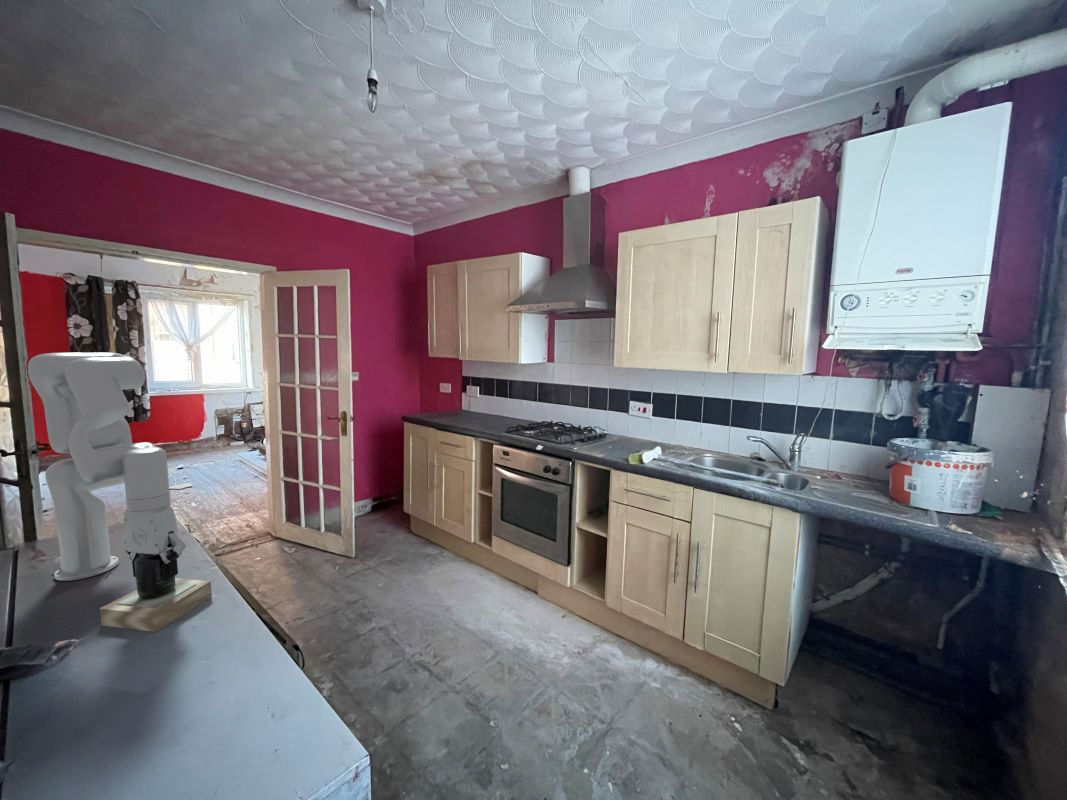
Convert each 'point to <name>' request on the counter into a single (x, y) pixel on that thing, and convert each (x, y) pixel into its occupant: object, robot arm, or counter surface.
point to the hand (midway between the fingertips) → (156, 575)
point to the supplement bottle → (151, 576)
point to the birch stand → (155, 606)
